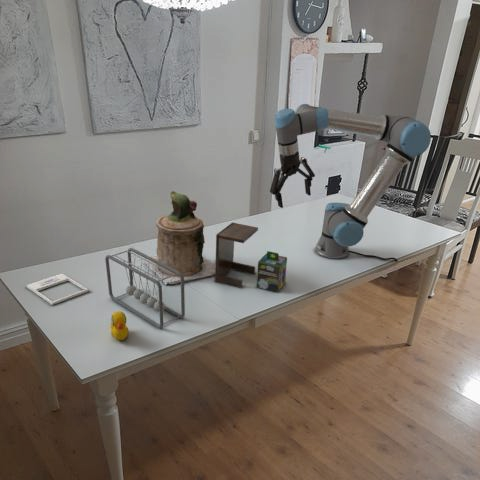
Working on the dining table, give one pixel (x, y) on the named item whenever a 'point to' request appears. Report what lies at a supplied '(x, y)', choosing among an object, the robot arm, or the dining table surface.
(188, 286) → the dining table surface
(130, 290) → the newton's cradle
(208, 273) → the cookie jar
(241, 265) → the walnut rack
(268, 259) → the chalk box
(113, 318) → the duckling
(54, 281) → the photo frame
